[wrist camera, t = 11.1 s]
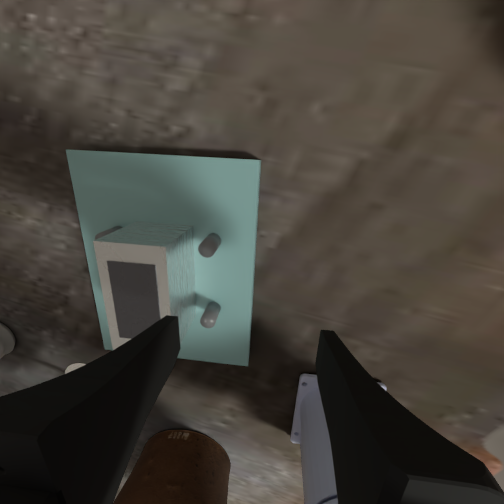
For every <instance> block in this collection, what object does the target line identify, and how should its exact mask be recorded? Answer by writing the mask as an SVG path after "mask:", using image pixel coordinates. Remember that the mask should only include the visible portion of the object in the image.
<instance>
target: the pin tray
mask: <svg viewBox="0 0 504 504" xmlns="http://www.w3.org/2000/svg"><path fill="white" fill-rule="evenodd" d="M66 154H67V159H68V164H69V169H70V175H71V180H72V185H73V190H74V195H75V200H76V205H77V210H78V215H79V220H80V226H81V231H82V236H83V241H84V246H85V251H86V256H87V261H88V266H89V271H90V277H91V282H92V287H93V292H94V297H95V302H96V307H97V312H98V317H99V323H100V328H101V333H102V338H103V343H104V348H105V350H113V348H112V343H111V337H110V332H109V326H108V321H107V315H106V310H105V304H104V299H103V293H102V288H101V282H100V277H99V271H98V266H97V260H96V255H95V249H94V244H93V241H94V240H96V239H98V238H101V237H103V236H105V235H107V234H110V233H112V232H114V231H116V230H119V229H121V228H123V227H125V226H128V225H130V224H132V223H134V222H137V221H143V222H157V223H170V224H183V225H193V230H194V260H195V290H196V316H195V318H194V320H193V322H192V324H191V326H190V327H189V329H188V331H187V333H186V335H185V337H184V339H183V341H182V343H181V344H180V347H181V349H180V351H179V354H178V357H177V358H181V359H189V360H198V361H206V362H215V363H223V364H231V365H240V366H248V363H249V355H250V338H251V321H252V305H253V288H254V271H255V254H256V237H257V220H258V203H259V186H260V170H261V160H252V159H233V158H215V157H197V156H179V155H160V154H142V153H124V152H105V151H87V150H66Z"/></svg>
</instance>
